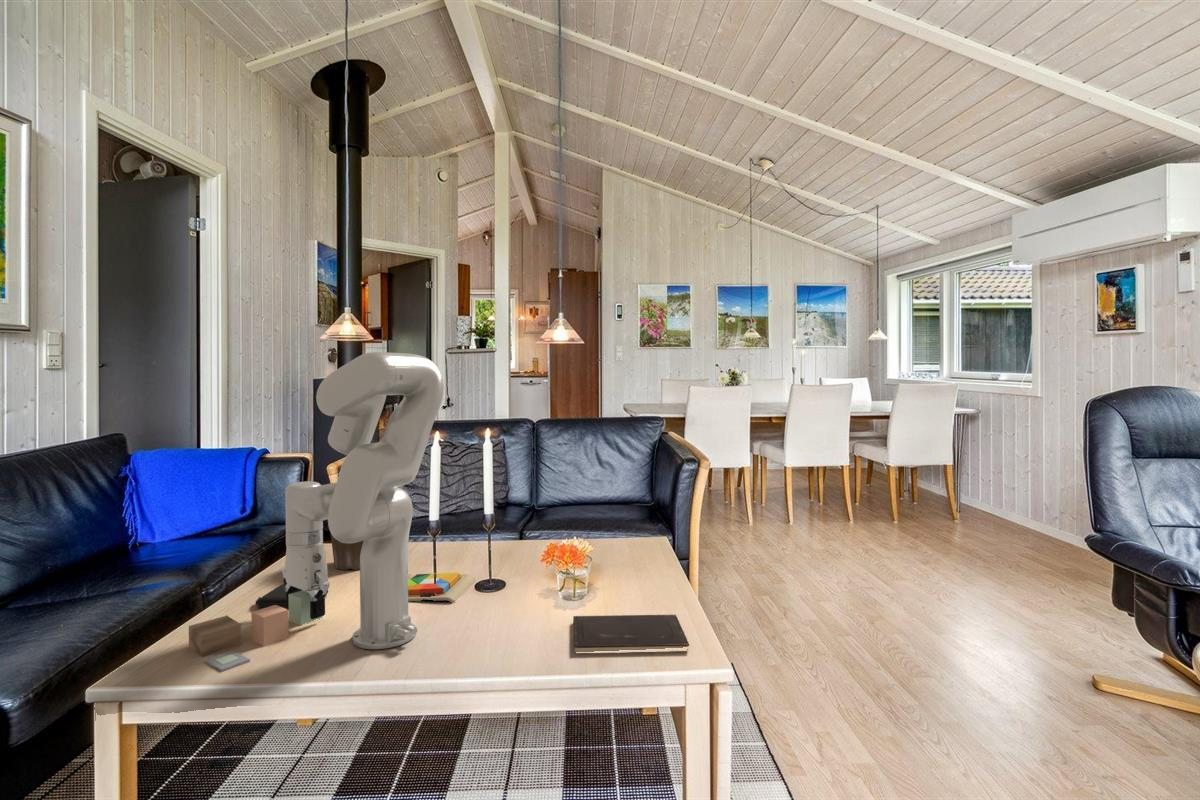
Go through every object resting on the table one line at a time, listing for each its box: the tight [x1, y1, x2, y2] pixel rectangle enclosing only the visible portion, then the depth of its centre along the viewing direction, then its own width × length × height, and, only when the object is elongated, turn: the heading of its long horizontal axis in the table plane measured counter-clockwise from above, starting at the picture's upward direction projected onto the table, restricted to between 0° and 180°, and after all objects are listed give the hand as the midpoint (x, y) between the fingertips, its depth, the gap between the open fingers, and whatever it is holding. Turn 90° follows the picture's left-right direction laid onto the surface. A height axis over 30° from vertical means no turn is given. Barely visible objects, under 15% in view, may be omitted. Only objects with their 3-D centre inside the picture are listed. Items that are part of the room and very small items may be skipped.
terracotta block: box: [251, 605, 289, 647], centre depth 127 cm, size 5×5×6 cm
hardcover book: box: [572, 614, 690, 653], centre depth 128 cm, size 16×23×2 cm
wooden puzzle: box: [408, 572, 476, 603], centre depth 157 cm, size 18×19×4 cm
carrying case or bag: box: [254, 582, 319, 610], centre depth 150 cm, size 11×3×15 cm
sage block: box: [288, 590, 323, 626], centre depth 137 cm, size 5×5×6 cm
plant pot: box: [327, 519, 364, 571], centre depth 178 cm, size 16×16×16 cm
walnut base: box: [188, 615, 242, 658], centre depth 123 cm, size 7×7×4 cm
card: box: [203, 649, 251, 672], centre depth 116 cm, size 7×5×1 cm
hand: (305, 612), depth 137 cm, fingers open, 9 cm apart
